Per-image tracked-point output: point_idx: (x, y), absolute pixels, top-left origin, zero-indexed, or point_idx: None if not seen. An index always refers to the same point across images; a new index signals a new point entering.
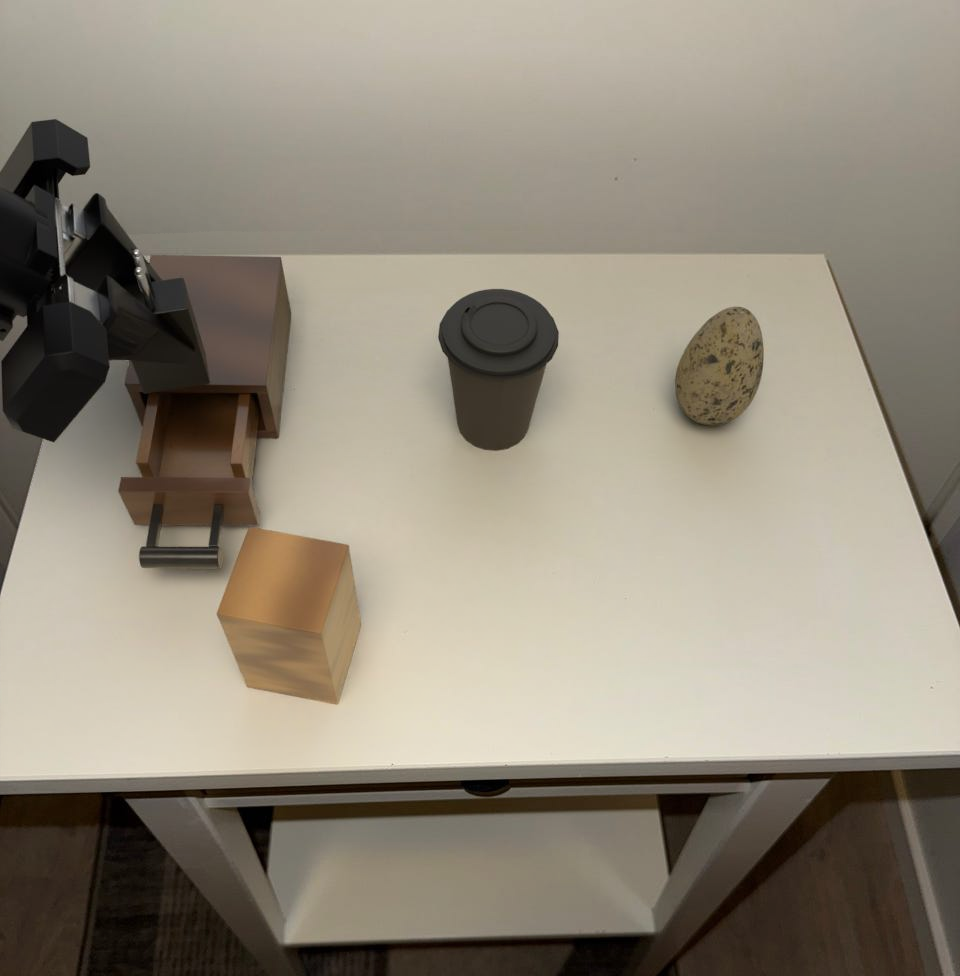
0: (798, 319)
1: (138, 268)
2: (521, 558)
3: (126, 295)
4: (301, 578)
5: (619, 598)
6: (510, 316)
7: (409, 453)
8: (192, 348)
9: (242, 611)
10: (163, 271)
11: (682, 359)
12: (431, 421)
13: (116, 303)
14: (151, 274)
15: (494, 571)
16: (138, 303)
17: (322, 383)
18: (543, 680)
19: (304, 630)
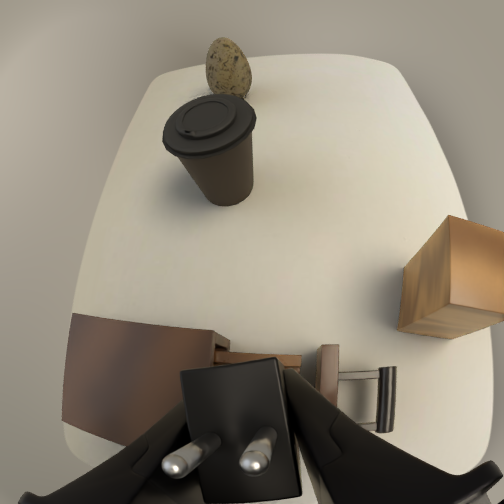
0: (182, 76)
1: (253, 465)
2: (341, 172)
3: (356, 482)
4: (483, 250)
5: (359, 132)
6: (199, 110)
7: (252, 237)
8: (287, 371)
9: None
10: (76, 414)
11: (221, 78)
12: (222, 223)
13: (450, 483)
14: (170, 433)
15: (352, 186)
16: (329, 455)
17: (175, 304)
18: (416, 169)
19: None
